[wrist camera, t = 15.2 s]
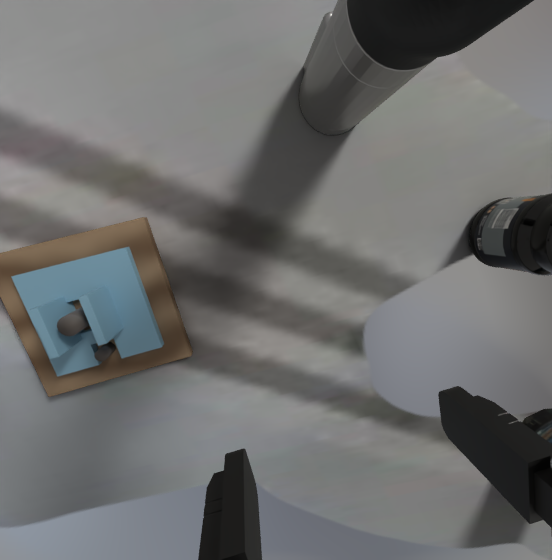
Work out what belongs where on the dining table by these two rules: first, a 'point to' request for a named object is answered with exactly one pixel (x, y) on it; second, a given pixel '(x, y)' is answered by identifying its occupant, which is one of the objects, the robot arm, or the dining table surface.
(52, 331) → the flange plate
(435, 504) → the dining table surface
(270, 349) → the dining table surface
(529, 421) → the beer stein
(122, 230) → the post board
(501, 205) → the supplement container
